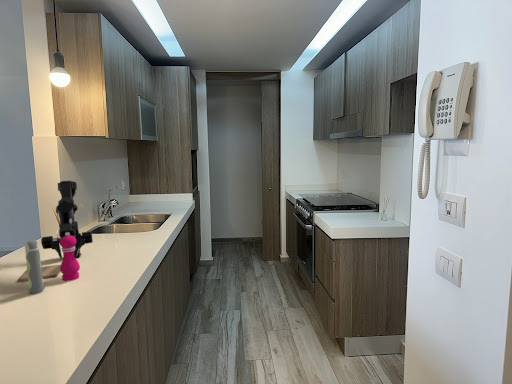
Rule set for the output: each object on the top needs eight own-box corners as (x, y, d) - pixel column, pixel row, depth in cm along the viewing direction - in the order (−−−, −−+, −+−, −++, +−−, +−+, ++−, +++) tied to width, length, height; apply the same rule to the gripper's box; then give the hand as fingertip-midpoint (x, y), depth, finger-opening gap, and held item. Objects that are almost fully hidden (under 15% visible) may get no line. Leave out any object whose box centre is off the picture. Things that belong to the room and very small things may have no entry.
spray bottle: (41, 287, 128) (36, 238, 126) (46, 291, 125) (40, 240, 123) (27, 292, 124) (21, 241, 122) (31, 295, 121) (25, 243, 119)
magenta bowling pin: (76, 273, 143) (72, 229, 140) (83, 277, 138) (80, 231, 136) (58, 278, 137) (54, 232, 135) (65, 283, 133) (61, 235, 130)
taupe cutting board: (63, 266, 152) (62, 264, 152) (56, 277, 139) (56, 274, 139) (27, 271, 147) (27, 268, 147) (17, 282, 134) (17, 279, 134)
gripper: (39, 218, 134) (38, 251, 125) (90, 213, 142) (92, 243, 134) (43, 232, 141) (43, 264, 133) (91, 227, 150) (93, 257, 142)
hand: (68, 257), depth 135 cm, fingers closed on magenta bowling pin, 5 cm apart
